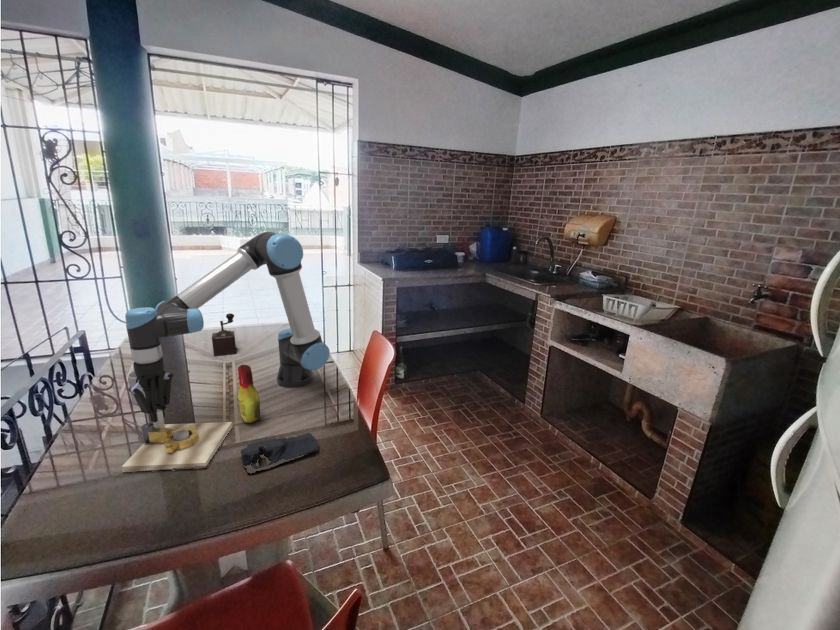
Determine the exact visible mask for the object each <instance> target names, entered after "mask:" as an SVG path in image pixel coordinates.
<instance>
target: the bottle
mask: <svg viewBox="0 0 840 630" xmlns="http://www.w3.org/2000/svg"><path fill="white" fill-rule="evenodd" d="M237 372H238V382H239V383H238V384H239V389H238V392H237V397H238V398H237V399H238V404H239V410H240V416H241V418H242V419H243V422H244V423H248V424H251V423H254V422H256V421H259V420H260V418H261V404H260V403H261V402H260V395H259V392H258V390H257V389H256V387H255V385H254V377H253V373H252V368H251V366H250V365H248V364H241V365H239V366H238V367H237Z"/></svg>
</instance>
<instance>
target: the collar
mask: <svg viewBox="0 0 840 630" xmlns="http://www.w3.org/2000/svg"><path fill="white" fill-rule="evenodd" d="M140 427H141V428H140V429H141V434H142V439H143V444H144V443H164V444H165V446H166V453H172V452H174V451H175V450H179V449H183V448H186V447H189V446H192V445H193V444H194V443H195V442H196V441H197V440H198V439H199V433H198V431H197V430H196V426H195V425H190V426H189V427H188V428H181V429H178V430H175V431H172V428H154V424H153V422H150V423H149V422H148V423H144V424H143V425H141V426H140ZM180 430H188V432H189V436H190V437H189V438H187V439H184V440H181V441H173V440H174V437H173V434H174V433H175V432H177V431H180Z"/></svg>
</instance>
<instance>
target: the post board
mask: <svg viewBox="0 0 840 630" xmlns="http://www.w3.org/2000/svg"><path fill="white" fill-rule="evenodd" d="M164 424H165V423H164ZM190 425H195V426H196V430H197V431H198V433H199V439H198V440H197V441H196V442H195V443H194V444H193V445H192V446H189V447H186V448H183V449H179V450H175V451H174V452H172V453H166V446H165V444H164V443H144V442H143V444H142V445H141V446H140V447H138V449H137V450H136V451H135V452H134V453H133V454H132V455H131V456H130V457H129V458H128V459H127V460H126V461H125V462H124V463H123V464H122V465H121V471H122V473H123V472H132V471H143V470H144V471H145V470H147V471H148V470H160V469H173V468H184V467H195V466H206V465H207V464H208V462H209V461H210V459H211V458H212V456H213V455H214V453H215V452H216V451H217V449H218V448H219V446H220V445H221V443H222V442H223V440H224V439H225V437H226V436H227V437H228V435H229V434H230V432H231V431H230V430H232V429H231V428H233V426H234V425H233V421H226V422H225V421H224V422H222V421H221V422H197V423H195V422H194V423H189V422H188V423H168V424H165V428H172V431H175V430H178V429H181V428H188V427H189V426H190ZM229 431H230V432H229ZM228 433H229V434H228ZM227 434H228V435H227ZM173 437H174V440H173V441H181V440H184V439H187V438H189V437H190V436H189V432H188V430H180V431H177V432H175V433H174V434H173ZM227 437H226V438H227ZM225 440H226V439H225ZM225 440H224V441H225ZM223 443H224V442H223ZM223 443H222V444H223ZM221 446H222V445H221ZM221 446H220V447H221ZM219 449H220V448H219ZM217 452H218V451H217ZM132 473H133V472H132Z"/></svg>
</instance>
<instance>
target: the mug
mask: <svg viewBox="0 0 840 630" xmlns="http://www.w3.org/2000/svg"><path fill="white" fill-rule="evenodd" d="M136 379H137V376H136V374H135V372H134V371H132V372H129V373H128V374H127V380H128V386H129V388H131V387H132V388H133V387H134V386H135V384H136ZM140 388H141V389H142V391H141V392H142V393H143V394H144V397H145V392H144V391H143V388H142V387H140ZM130 396H131V397H130V399H131V402H132V404H133V405H136V406H139V405H138V403H137V401H136V399H135V397H134V395H133V394H132V393H131V392H130ZM145 399H146V398H145Z"/></svg>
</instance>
